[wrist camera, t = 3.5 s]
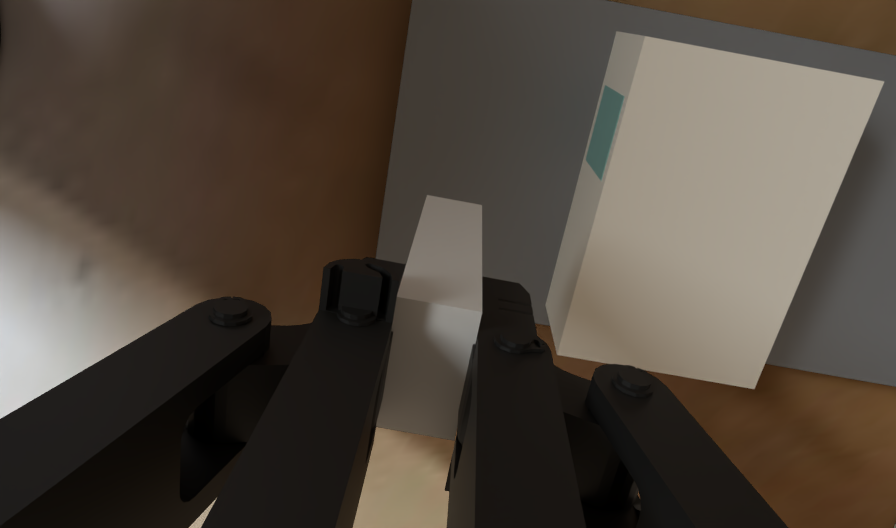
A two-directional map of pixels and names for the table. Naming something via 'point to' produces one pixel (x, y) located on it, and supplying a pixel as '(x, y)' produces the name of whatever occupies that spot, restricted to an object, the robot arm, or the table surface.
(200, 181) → the table surface
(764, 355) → the carton
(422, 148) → the grey base with uprights
